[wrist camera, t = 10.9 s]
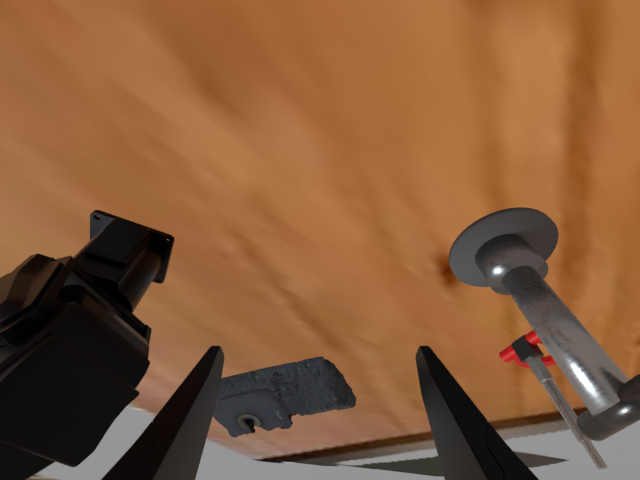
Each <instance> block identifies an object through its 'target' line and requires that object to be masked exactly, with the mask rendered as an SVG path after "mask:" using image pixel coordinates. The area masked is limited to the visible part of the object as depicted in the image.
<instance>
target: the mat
mask: <svg viewBox="0 0 640 480" xmlns="http://www.w3.org/2000/svg"><path fill="white" fill-rule="evenodd" d="M504 234H517V235H520V236H522V237H523V238H524V239H525V240H526V241H527V242H528V243H529V244H530V245H531V246H532V247H533V249H534V250H535V251H536V252H537V253H538V254H539V255H540V256H541V257H542V258H543V259H544V261H546V260H547V259H548V258H549V257H550V256H551V254H552V253H553V251H554V249H555V248H556V245H557V242H558V237H559V234H558V229H557V226H556V224H555V223H554V222H553V221H552V219H550V218H549V217H548V216H547V215H546V214H544V213H543V212H541V211H539V210H536V209H532V208H525V207H516V208H508V209H503V210H499V211H496V212H493V213H491V214H488V215H486V216H484V217H482V218H480V219H478V220H477V221H475V222H473V223H472V224H471V225H469V226H468V227H467V228H466V229H465V230H463V231H462V232H461V234H460V235H459V236H458V237H457V238H456V240H455V241H454V243H453V244H452V246H451V249H450V252H449V265H450V268H451V270H452V272H453V274H454V275H455V276H456V277H457V279H459V280H460V281H461V282H463V283H465V284H468V285H471V286H476V287H490V285H489V284H488V282H487V281H486V279H485V278H484V276H483V274H482V273H481V271H480V270H479V268H478V266H477V265H476V263H475V255H476V253H477V251H478V249H479V248H480V247H481V246H482V245H483V244H484V243H485V242H487V241H488V240H490V239H492V238H494V237H497V236H500V235H504Z"/></svg>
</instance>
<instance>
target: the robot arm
mask: <svg viewBox="0 0 640 480" xmlns="http://www.w3.org/2000/svg"><path fill="white" fill-rule="evenodd" d="M98 216H99V217H98ZM167 239H168V240H167ZM174 241H175V239H174V237H173V236H172V235H170V234H167V233H164V232H161V231H159V230H156V229H153V228H150V227H147V226H144V225H141V224H138V223H135V222H132V221H130V220H127V219H124V218H121V217H118V216H115V215H112V214H109V213H106V212H103V211H101V210H94V211H93V212H92V213H91V214H90V241H89V242H88V243H87V244H86V245H85V246H84V247H83V248H82V249H81V250H80V251H79V252H78V253H77V254H76V255H75V256H74V257H72V256H66V257H62V258H58V259H54V258H53V257H48V256H45V255H42V254H34V255H31V256H29V257H28V258H27V259H26V260H25V261H23V262H22V263H21V264H20V265H19V266H18V267H16V268H15V269H14V270H13V271H12V272H11V273H8V274H6V275H4V276H2V277H1V278H0V480H27V479H29V478H31V477H32V476H34V475H35V474H37V473H39V472H40V471H42V470H43V469H45V468H47V467H48V466H50V465H51V464H53V463H55V462H58V463H61V464H64V465H67V466H69V467H76V466H78V465H79V464H80V463H82V462H83V461H84V460H85V459H86V458H87V457H88V456H89V455H91V454H92V453H93V452H94V451H95V449H96V448H97V446H98V445H99V443H100V441H101V440H102V438H103V437H104V435H105V434H106V432H107V430H108V429H109V427H110V426H111V425H112V423H113V422H114V420H115V419H116V418H117V417H118V416H119V414H120V413H121V412H122V411H123V410H124V409H125V407H126V406H128V405H129V404H130V403H131V402H132V401H133V400H134V399H135V398H136V397H137V396H138V395H139V393H140V392H139V391H138V390H136V388H137V386H138V385H139V383H140V382H141V380H142V379H143V377H144V376H145V374H146V372H147V370H148V367H149V365H150V360H148V356H149V343H150V337H151V331H152V329H151V328H150V327H149V326H148V325H145V324H144V323H143V322H142V321H141V320H140V319H138V318H137V317H136V316H135V315H134V314H133V312H134V310H135V308H136V307H137V305H138V304H139V302H140V300H141V299H142V297H143V296H144V294H145V292H146V291H147V289H148V288H149V286H150V284H151V283H152V282H155V283H158V284H162V283H163V282H164V280H165V278H166V274H167V270H168V266H169V262H170V258H171V253H172V249H173V245H174ZM223 365H224V353H223V351H222V348H221V346H211V347H210V348H209V349H208V350H207V352H206V353H205V354H204V355H203V357H202V358H201V359H200V360H199V362H198V363H197V364H196V366H195V367H194V368H193V369H192V371H191V372H190V373H189V374H188V376H187V377H186V378H185V380H184V381H183V382H182V383H181V385H180V386H179V387H178V388H177V390H176V391H175V392H174V394H173V395H172V396H171V397H170V399H169V400H168V401H167V402H166V404H165V405H164V406H163V408H162V409H161V410H160V411H159V413H158V414H157V415H156V416H155V418H154V419H153V421H152V422H151V423H150V424H149V425H148V427H147V428H146V429H145V430H144V432H143V433H142V434H141V435H140V436H139V438H138V439H137V440H136V441H135V443H134V444H133V445H132V446H131V447H130V448H129V449H128V450H127V452H126V453H125V454H124V455H123V456H122V457H121V458H120V459H119V460H118V462H117V463H116V464H115V465H114V466H113V467H112V468H111V469H110V470H109V471H108V472H107V474H106V475H105V476H104V477H103V478H102V479H101V480H195V478H196V475H197V471H198V468H199V464H200V460H201V457H202V453H203V449H204V446H205V442H206V439H207V435H208V431H209V428H210V424H211V421H212V417H213V413H214V410H215V406H216V402H217V399H218V395H219V389H220V383H221V377H222V371H223ZM416 365H417V371H418V377H419V383H420V389H421V395H422V399H423V402H424V406H425V410H426V413H427V417H428V421H429V424H430V428H431V431H432V435H433V439H434V442H435V446H436V449H437V453H438V457H439V460H440V464H441V468H442V471H443V475H444V478H445V480H539V479H538V478H537V477H536V476H535V475H534V474H533V472H532V471H531V470H530V469H529V468H528V467H527V466H526V465H525V464H524V463H523V462H522V460H521V459H520V458H519V457H518V456H517V455H516V454H515V453H514V452H513V450H512V449H511V448H510V447H509V446H508V445H507V444H506V443H505V441H504V440H503V439H502V438H501V436H500V435H499V434H498V433H497V432H496V430H495V429H494V428H493V427H492V425H491V424H490V423H489V422H488V421H487V419H486V418H485V416H484V415H483V414H482V413H481V411H480V410H479V409H478V408H477V406H476V405H475V404H474V402H473V401H472V400H471V399H470V397H469V396H468V395H467V394H466V392H465V391H464V390H463V388H462V387H461V386H460V385H459V383H458V382H457V381H456V380H455V378H454V377H453V376H452V374H451V373H450V372H449V371H448V369H447V368H446V367H445V366H444V364H443V363H442V362H441V360H440V359H439V358H438V357H437V355H436V354H435V353H434V352H433V350H432V349H431V348H430V347H429V346H419V348H418V351H417V353H416Z"/></svg>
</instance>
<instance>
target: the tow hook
mask: <svg viewBox="0 0 640 480" xmlns="http://www.w3.org/2000/svg"><path fill="white" fill-rule="evenodd" d="M538 343H540V344H543V343H542V341H541V340H540V338H539V337H538V335H537V334H536V332H535V331H534V330H532V331H530V332H529V333H528V334H526V335H523V336H521V337H520V338H518V339H517V340H515V341H514V342H513V343H512V344H511V345H510V346H509V347H507V348H506V349H504V350H503V351H501V352H500V353H499V356H500V358H501V359H502V360H503V361H504V362H506V363H508V362H510V361H511V360H514V362H515V363H516V364H517V365H519V366H521V367H525V368H531V369H532V371H533V373H534V374H535V376H536V377H537V379H538V381H539V382H540V384H542V385H543V386H544V388H545V389H546V391H547V393H548V394H549V396H550V397H551V399H552V401H553V402H554V404H555V405H556V407H557V409H558V410H559V412H560V413H561V415H562V417H563V418H564V420H565V421H566V423H567V425H568V426H569V428H570V429H571V431H572V433H573V434H574V436H575V437H576V439H577V441H578V442H579V443H582V444H583V446H584V447H585V449H586V450H587V452H588V454H589V455H590V457H591V458H592V460H593V462H594V463H595V465H596V466H597V468H598V469H606V468H607V465H606V464H605V462H604V460H603V459H602V457H601V456H600V454H599V453H598V451H597V450H596V448H595V447H594V445H593V444H592V442H591V441H592V440H590V439H588V438H587V437H585V436H584V435H583V434H582V433H581V432H580V431H579V429H578V428H577V425H576V419H577V415H576V414H575V412H574V411H573V409H572V408H571V406H570V405H569V403H568V402H567V400H566V399H565V397H564V395H563V394H562V392H561V391H560V389H559V388H558V386H557V385H556V383H555V382H554V378H553V376H552V375H551V373H550V372H549V370H548V369H547V366H551V365H555V364H557V363H556V362H555V360H554V359H553V357H552V356H551V355H550V356H545V357H543V356H544V354H543V353H542V351H541V350H540V348H539V347H538V345H537V344H538Z"/></svg>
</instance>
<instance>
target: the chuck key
mask: <svg viewBox="0 0 640 480" xmlns="http://www.w3.org/2000/svg"><path fill="white" fill-rule="evenodd" d="M475 263H476V265H477V266H478V268H479V270H480V271H481V273H482V274H483V276H484V278H485V279H486V281H487V282H488V284H489V285H490V287H491V289H492V290H493V291H494V292H496V293H498V294H501V295H510V296H511V297H512V299H513V300H514V302H515V303H516V305H517V306H518V308H519V309H520V311H521V312H522V313H523V315H524V316H525V318H526V319H527V321H528V322H529V324H530V325H531V327H532V328H533V330H534V331H535V332H536V334H537V335H538V337H539V338H540V340H541V341H542V343H543V344H544V346H545V347H546V349H547V350H548V352H549V353H550V354H551V356H552V357H553V359H554V360H555V362H556V363H557V365H558V366H559V368H560V369H561V371H562V372H563V373H564V375H565V376H566V378H567V379H568V381H569V382H570V384H571V385H572V387H573V388H574V390H575V391H576V392H577V394H578V395H579V397H580V398H581V400H582V401H583V403H584V404H585V406H586V407H587V409H588V410H586V411H585V412H583V413H582V414H580V415H579V416H578V417H577V419H576V425H577V428H578V429H579V431H580V432H581V433H582V434H583V435H584V436H585V437H587V438H588V439H590V440H594V441H602V440H605V439H607V438H608V437H610V436H612V435H614V434H616V433H617V432H619V431H621V430H623V429H625V428H626V427H628V426H630V425H632V424H634V423H635V422H637V421H639V420H640V374H638V375H636V376H635V377H633V378H632V379H631V380H629V379H628V378H627V376H626V375H625V374H624V373H623V372H622V371H621V369H620V368H619V367H618V366H617V365H616V364H615V362H614V361H613V360H612V359H611V358H610V356H609V355H608V354H607V353H606V352H605V351H604V349H603V348H602V347H601V346H600V345H599V344H598V342H597V341H596V340H595V339H594V338H593V337H592V335H591V334H590V333H589V332H588V331H587V329H586V328H585V327H584V326H583V325H582V324H581V322H580V321H579V320H578V319H577V318H576V317H575V315H574V314H573V313H572V312H571V311H570V310H569V308H568V307H567V306H566V305H565V304H564V302H563V301H562V300H561V299H560V298H559V297H558V295H557V294H556V293H555V292H554V291H553V290H552V288H551V287H550V286H549V285H548V284H547V283H546V281H545V280H544V278H545V277H546V275H547V273H548V264H547V263H546V262H545V261H544V259H543V258H542V257H541V256H540V255H539V254H538V253H537V252H536V251H535V250H534V249H533V247H532V246H531V245H530V244H529V243H528V242H527V241H526V240H525V239H524V238H523V237H522V236H520V235H517V234H504V235H500V236H497V237H494V238H492V239H490V240H488V241H487V242H485V243H484V244H483V245H482V246H481V247H480V248H479V249H478V251H477V253H476V255H475Z"/></svg>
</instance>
